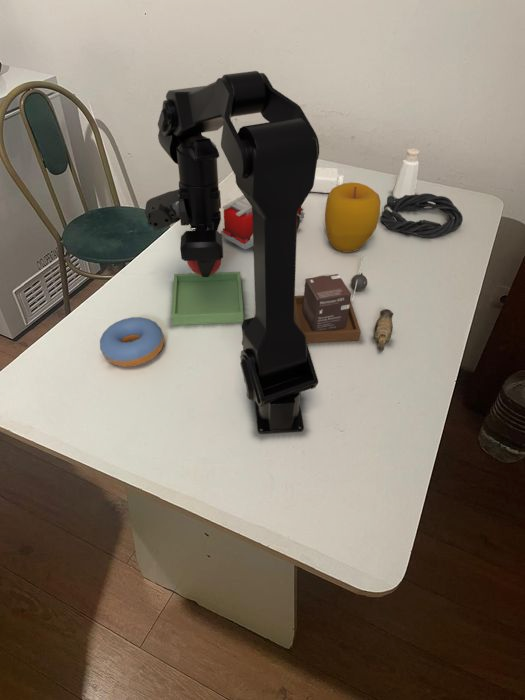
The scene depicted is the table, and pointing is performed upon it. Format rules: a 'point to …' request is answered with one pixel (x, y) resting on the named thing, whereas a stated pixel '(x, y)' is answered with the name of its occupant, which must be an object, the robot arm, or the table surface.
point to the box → (326, 303)
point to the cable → (420, 203)
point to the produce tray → (207, 298)
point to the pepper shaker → (407, 175)
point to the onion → (195, 267)
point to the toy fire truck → (242, 222)
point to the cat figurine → (383, 328)
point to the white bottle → (326, 179)
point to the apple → (351, 215)
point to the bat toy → (359, 281)
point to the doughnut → (143, 338)
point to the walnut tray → (339, 335)
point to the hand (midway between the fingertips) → (205, 266)
